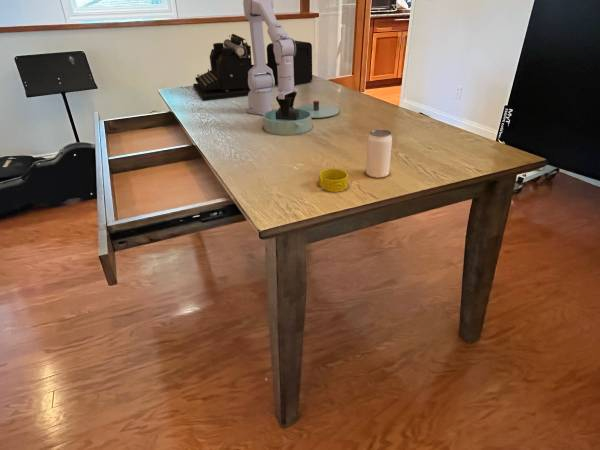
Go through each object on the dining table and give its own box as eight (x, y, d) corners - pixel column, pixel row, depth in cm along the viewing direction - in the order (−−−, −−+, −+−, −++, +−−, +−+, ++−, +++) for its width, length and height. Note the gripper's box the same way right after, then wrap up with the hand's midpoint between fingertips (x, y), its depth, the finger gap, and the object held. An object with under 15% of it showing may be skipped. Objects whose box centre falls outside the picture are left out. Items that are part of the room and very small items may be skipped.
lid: (306, 121, 161) (306, 109, 159) (286, 110, 176) (285, 99, 174) (347, 114, 168) (348, 103, 166) (324, 104, 183) (324, 93, 181)
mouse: (275, 119, 153) (275, 108, 151) (279, 115, 157) (278, 104, 155) (296, 120, 151) (295, 108, 149) (299, 116, 155) (298, 105, 153)
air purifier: (296, 78, 234) (295, 39, 223) (312, 82, 224) (312, 41, 214) (266, 83, 223) (264, 43, 213) (282, 87, 213) (280, 46, 203)
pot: (278, 140, 144) (278, 126, 141) (254, 123, 162) (253, 110, 159) (323, 131, 150) (323, 118, 148) (295, 116, 168) (295, 104, 166)
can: (386, 168, 120) (389, 128, 114) (391, 178, 114) (395, 136, 108) (364, 169, 120) (366, 129, 113) (368, 178, 114) (370, 137, 108)
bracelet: (335, 177, 116) (335, 166, 114) (353, 187, 110) (354, 175, 108) (314, 183, 112) (313, 172, 111) (331, 194, 107) (331, 182, 105)
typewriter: (193, 87, 219) (185, 36, 206) (243, 82, 227) (238, 32, 214) (203, 100, 194) (194, 43, 181) (258, 94, 202) (254, 39, 189)
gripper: (291, 80, 140) (293, 120, 147) (301, 72, 152) (302, 109, 159) (271, 80, 141) (273, 119, 148) (282, 72, 153) (284, 108, 160)
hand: (287, 114), depth 153 cm, fingers closed on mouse, 5 cm apart
